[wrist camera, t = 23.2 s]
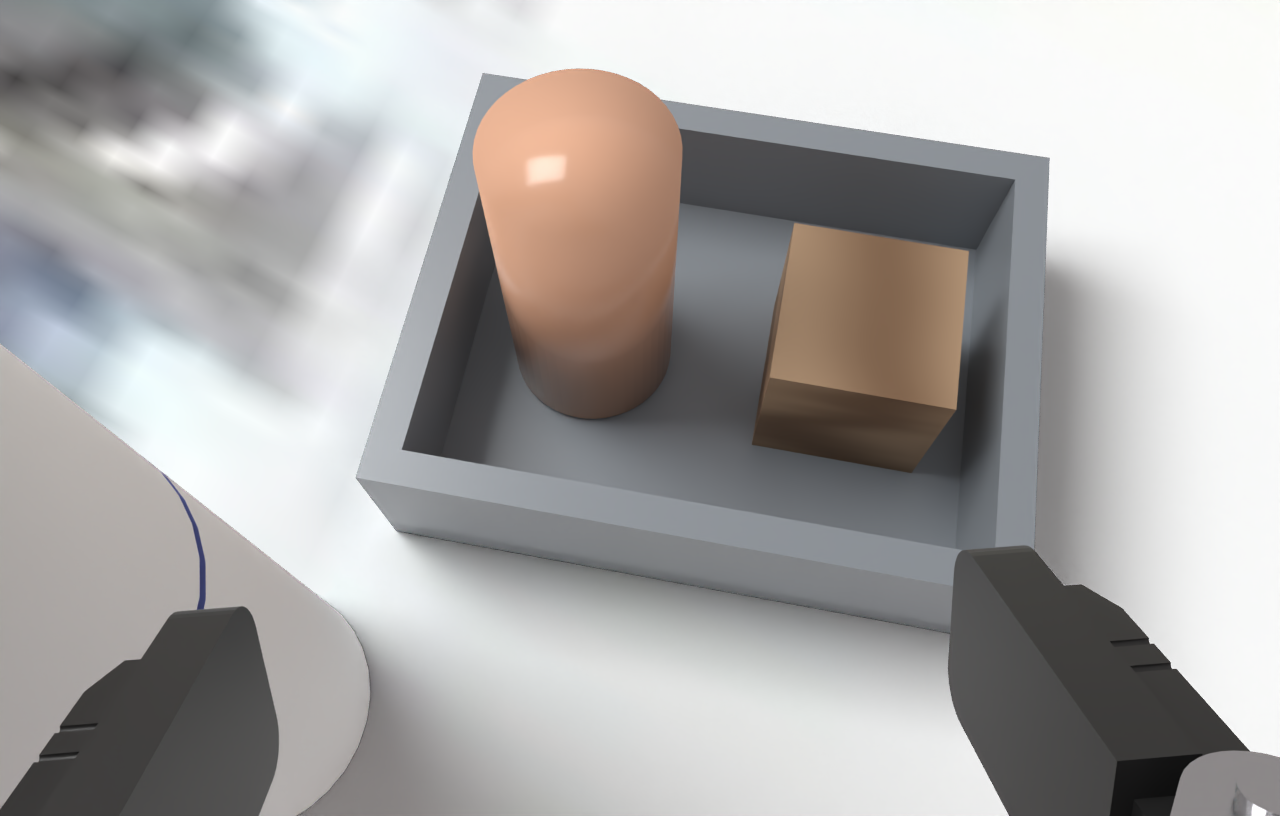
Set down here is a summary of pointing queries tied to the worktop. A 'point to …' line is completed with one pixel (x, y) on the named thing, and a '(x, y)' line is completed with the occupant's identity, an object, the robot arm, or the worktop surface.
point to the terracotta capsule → (584, 234)
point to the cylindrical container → (145, 592)
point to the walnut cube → (862, 348)
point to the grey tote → (731, 384)
